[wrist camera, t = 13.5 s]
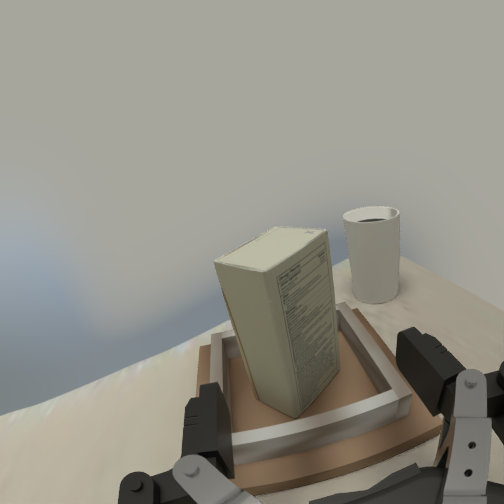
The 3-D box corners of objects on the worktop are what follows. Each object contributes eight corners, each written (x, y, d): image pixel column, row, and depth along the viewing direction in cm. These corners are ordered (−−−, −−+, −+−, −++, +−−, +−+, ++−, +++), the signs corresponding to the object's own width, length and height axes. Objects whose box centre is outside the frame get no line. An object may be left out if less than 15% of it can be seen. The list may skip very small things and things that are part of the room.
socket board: (199, 500, 15) (176, 476, 13) (204, 357, 31) (192, 327, 29) (438, 434, 15) (452, 400, 14) (357, 319, 31) (356, 287, 30)
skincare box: (300, 355, 26) (276, 224, 22) (343, 370, 22) (330, 226, 18) (252, 400, 22) (208, 258, 18) (296, 423, 19) (264, 269, 15)
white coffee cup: (412, 292, 33) (411, 212, 29) (369, 312, 32) (364, 227, 28) (381, 274, 39) (376, 203, 36) (340, 290, 38) (332, 215, 34)
